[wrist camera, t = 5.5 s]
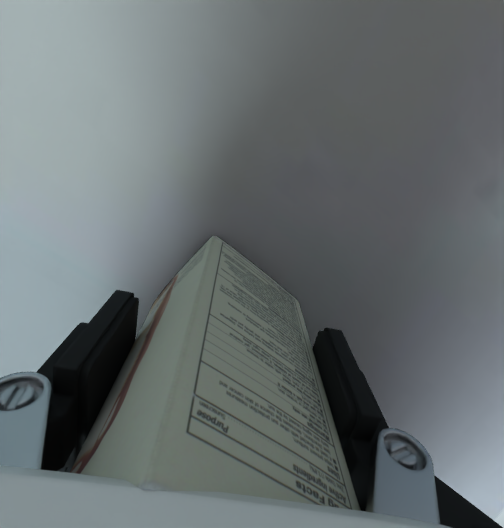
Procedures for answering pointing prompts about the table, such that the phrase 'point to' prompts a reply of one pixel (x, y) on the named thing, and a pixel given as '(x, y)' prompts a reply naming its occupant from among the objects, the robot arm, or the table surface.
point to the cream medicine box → (221, 394)
